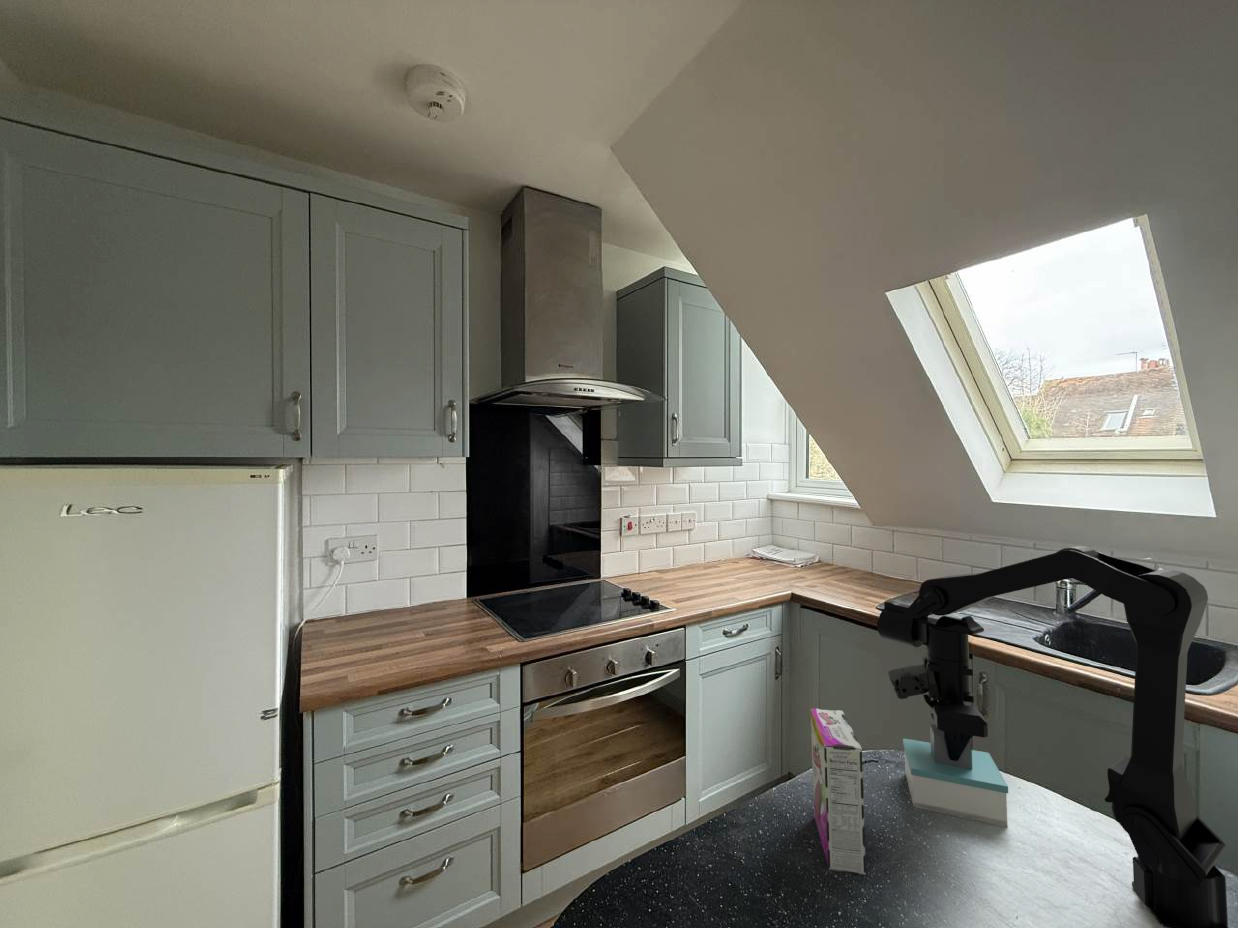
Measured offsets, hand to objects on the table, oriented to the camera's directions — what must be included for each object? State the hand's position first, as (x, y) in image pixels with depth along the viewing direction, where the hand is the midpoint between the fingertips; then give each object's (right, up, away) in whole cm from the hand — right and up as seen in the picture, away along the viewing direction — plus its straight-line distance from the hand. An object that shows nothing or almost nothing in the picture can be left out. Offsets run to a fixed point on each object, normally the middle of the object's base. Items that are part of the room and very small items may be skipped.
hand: (950, 753), depth 80 cm
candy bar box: (-23, -7, -10) cm, 26 cm away
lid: (0, -3, 0) cm, 3 cm away
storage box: (0, -7, 0) cm, 7 cm away
